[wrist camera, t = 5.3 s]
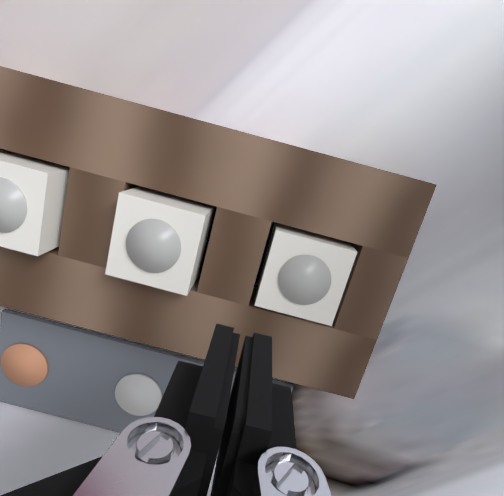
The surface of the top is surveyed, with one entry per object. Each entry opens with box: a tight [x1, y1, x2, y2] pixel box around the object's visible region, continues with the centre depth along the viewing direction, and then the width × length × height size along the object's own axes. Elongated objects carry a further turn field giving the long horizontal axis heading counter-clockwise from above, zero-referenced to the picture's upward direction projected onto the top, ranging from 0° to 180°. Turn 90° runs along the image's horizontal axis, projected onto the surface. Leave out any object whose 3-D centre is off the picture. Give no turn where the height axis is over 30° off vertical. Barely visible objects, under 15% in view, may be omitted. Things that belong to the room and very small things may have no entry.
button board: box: [0, 66, 436, 399], centre depth 23 cm, size 26×13×3 cm, turn 75°
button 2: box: [255, 222, 357, 326], centre depth 22 cm, size 4×4×3 cm
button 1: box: [0, 149, 70, 256], centre depth 21 cm, size 4×4×3 cm
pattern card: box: [0, 309, 293, 458], centre depth 27 cm, size 20×7×1 cm, turn 75°
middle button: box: [105, 186, 215, 296], centre depth 21 cm, size 4×4×3 cm
